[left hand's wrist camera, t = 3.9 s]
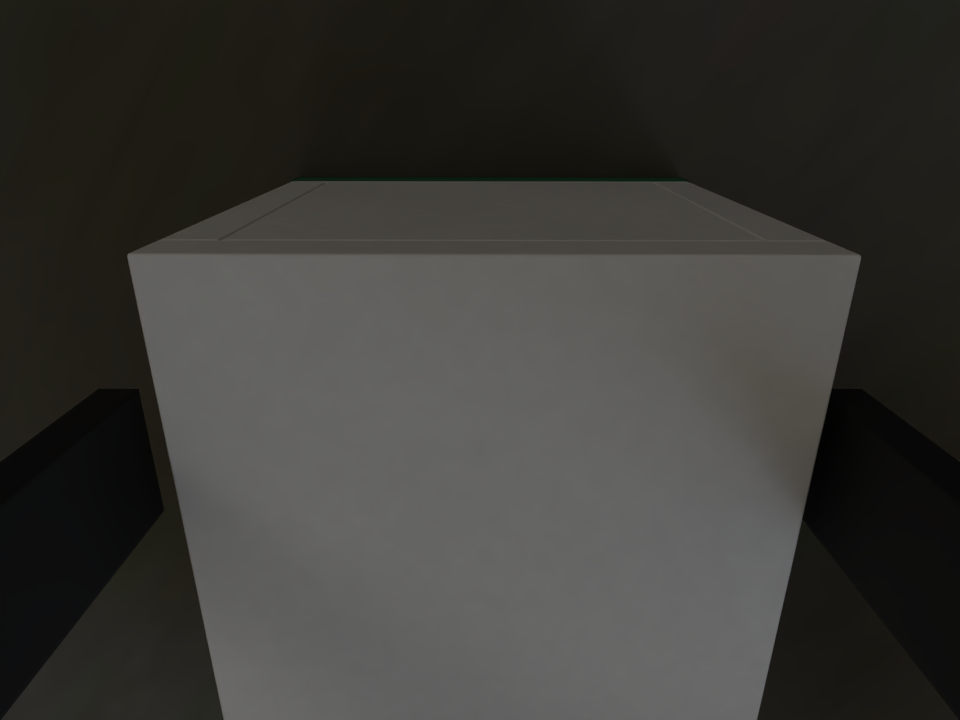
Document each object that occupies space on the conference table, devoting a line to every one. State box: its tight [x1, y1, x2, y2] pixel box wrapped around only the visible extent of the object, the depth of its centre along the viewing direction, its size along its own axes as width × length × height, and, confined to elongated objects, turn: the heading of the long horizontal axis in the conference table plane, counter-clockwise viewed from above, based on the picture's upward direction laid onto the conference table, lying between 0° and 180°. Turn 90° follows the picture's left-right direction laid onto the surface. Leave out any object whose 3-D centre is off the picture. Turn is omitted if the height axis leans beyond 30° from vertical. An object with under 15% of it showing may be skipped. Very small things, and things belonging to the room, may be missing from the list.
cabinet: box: [127, 177, 861, 720], centre depth 18 cm, size 19×11×10 cm, turn 0°
